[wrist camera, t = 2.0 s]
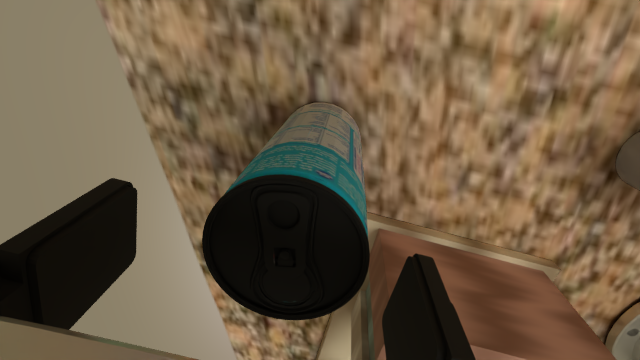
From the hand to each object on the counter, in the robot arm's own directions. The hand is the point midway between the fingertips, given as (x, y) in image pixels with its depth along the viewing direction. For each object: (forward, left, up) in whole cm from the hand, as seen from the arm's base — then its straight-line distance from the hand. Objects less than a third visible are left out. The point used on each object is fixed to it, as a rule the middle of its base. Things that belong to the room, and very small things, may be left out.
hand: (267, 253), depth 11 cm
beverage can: (-1, 0, -16) cm, 15 cm away
